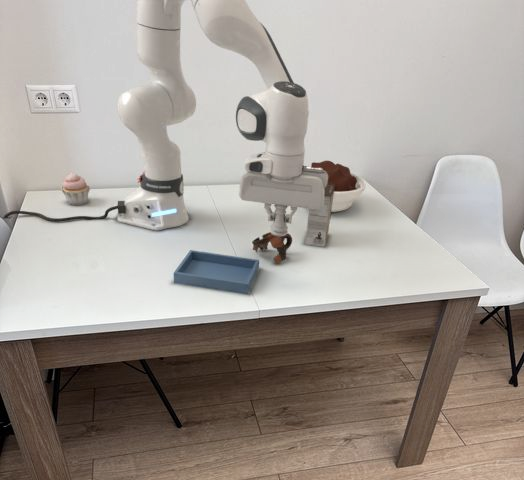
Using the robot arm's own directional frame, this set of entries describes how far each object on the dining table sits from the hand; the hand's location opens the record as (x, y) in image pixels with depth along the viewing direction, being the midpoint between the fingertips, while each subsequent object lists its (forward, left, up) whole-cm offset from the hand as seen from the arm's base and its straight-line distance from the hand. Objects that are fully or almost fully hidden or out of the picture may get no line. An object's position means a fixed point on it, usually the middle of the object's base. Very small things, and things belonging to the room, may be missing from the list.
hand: (279, 221), depth 120 cm
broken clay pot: (-3, +14, -17) cm, 22 cm away
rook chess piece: (0, 0, -3) cm, 3 cm away
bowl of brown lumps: (+8, +58, -17) cm, 61 cm away
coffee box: (+8, +29, -17) cm, 35 cm away
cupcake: (-74, +33, -17) cm, 83 cm away
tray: (-15, -2, -17) cm, 23 cm away
